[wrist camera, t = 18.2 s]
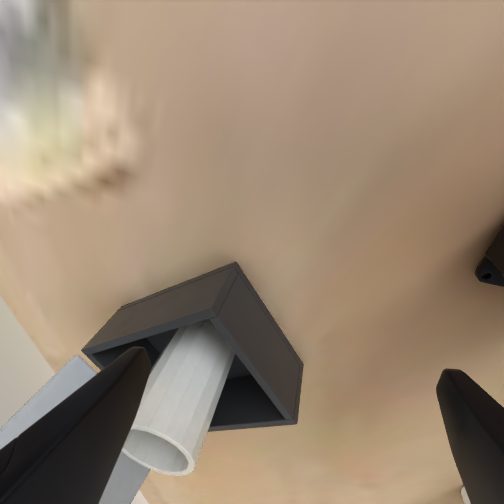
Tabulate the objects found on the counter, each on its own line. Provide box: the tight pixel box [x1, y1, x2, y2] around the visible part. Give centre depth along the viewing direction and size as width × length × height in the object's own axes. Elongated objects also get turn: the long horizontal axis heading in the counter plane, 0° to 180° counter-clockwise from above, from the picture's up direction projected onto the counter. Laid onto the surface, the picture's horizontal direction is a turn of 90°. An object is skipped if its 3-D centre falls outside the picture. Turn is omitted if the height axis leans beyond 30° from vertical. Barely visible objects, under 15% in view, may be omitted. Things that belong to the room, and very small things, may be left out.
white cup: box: [122, 319, 235, 476], centre depth 24 cm, size 6×6×10 cm
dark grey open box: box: [81, 262, 303, 432], centre depth 26 cm, size 14×12×6 cm
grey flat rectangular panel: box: [0, 355, 150, 504], centre depth 21 cm, size 15×12×1 cm
